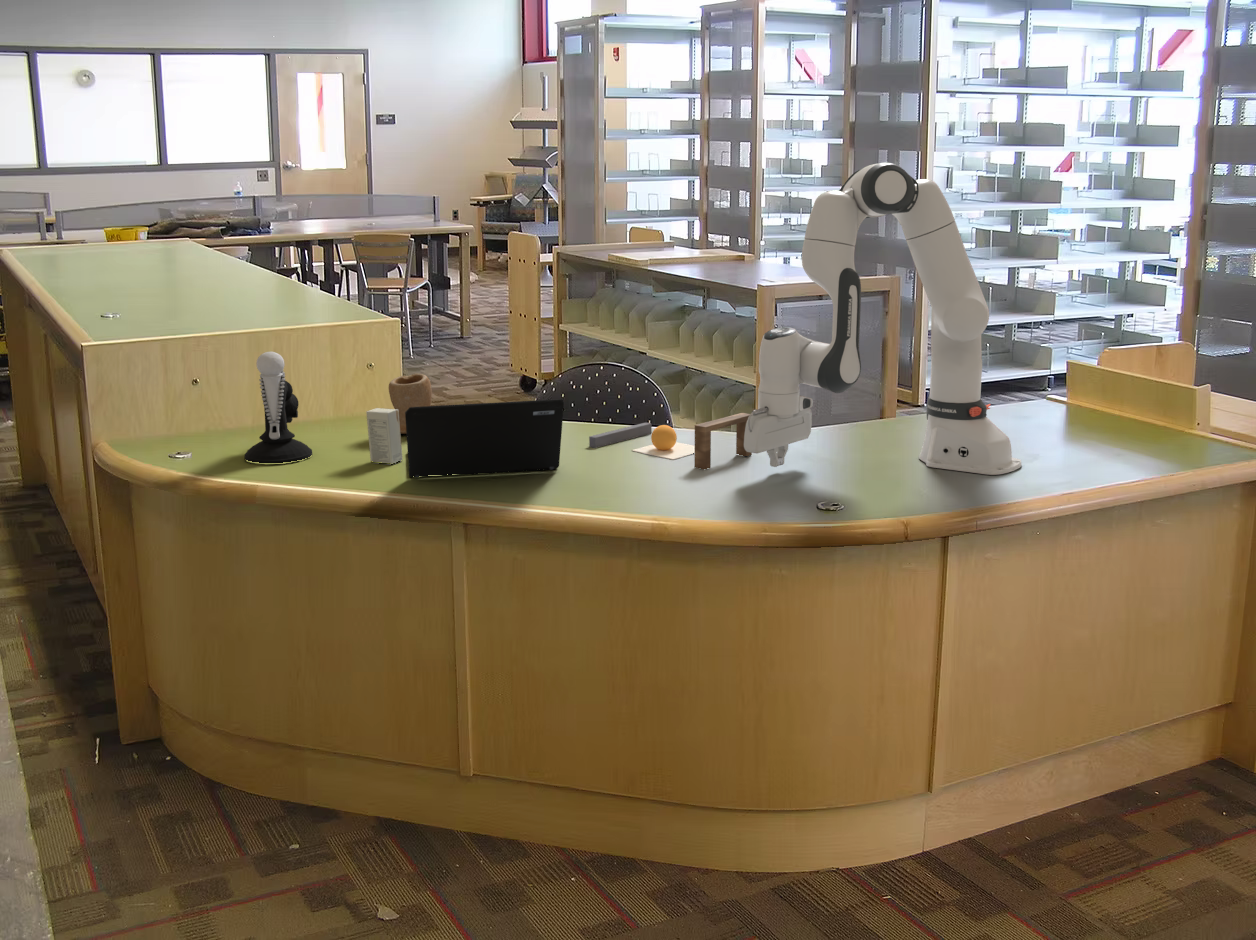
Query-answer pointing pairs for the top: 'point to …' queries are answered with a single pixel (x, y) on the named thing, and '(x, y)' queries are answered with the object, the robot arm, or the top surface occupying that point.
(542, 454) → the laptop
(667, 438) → the ball
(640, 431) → the wall
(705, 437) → the bridge
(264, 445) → the sculpture
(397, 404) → the stone cup
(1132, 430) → the top surface
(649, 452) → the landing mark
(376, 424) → the skincare box
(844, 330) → the robot arm
